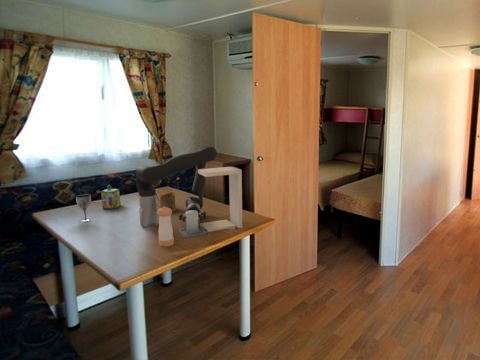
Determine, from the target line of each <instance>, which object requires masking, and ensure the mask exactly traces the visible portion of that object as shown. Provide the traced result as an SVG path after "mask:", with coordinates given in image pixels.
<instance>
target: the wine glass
mask: <svg viewBox="0 0 480 360" xmlns="http://www.w3.org/2000/svg"><path fill="white" fill-rule="evenodd" d="M75 201H76V204H77V207H78V208H79V209H80V210H82V211H83V214H84V218H83V219H81V220H82V221H89V220H90V219H91V218H87V211H88V209H89V207H90V206H91V203H92V195H91V194H88V193H86V194H85V193H84V194H79V195H76V196H75Z"/></svg>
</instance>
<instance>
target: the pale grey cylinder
mask: <svg viewBox="0 0 480 360" xmlns="http://www.w3.org/2000/svg"><path fill="white" fill-rule="evenodd" d="M185 213H186V220H185V222H186V223H185V224H186V228H187V234H197V233H198V232H199V230H198V226H199V219H198V211H196V210H189V211H187V210H186V211H185Z"/></svg>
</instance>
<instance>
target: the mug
mask: <svg viewBox="0 0 480 360" xmlns="http://www.w3.org/2000/svg"><path fill="white" fill-rule="evenodd" d="M175 195H176V194H175V192H174V191H172V192H168V193H164V194H161V195H159V197H158V193H157V192H156V199H159V205H158V204H157V208H158V209H160V208H162V207H164V206H165V207H167V208H170V209H171V210H172V212H175V211H176V210H177V209H178V208H177V207H176V198H175V197H176V196H175Z"/></svg>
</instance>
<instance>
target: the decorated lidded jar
mask: <svg viewBox="0 0 480 360" xmlns="http://www.w3.org/2000/svg"><path fill="white" fill-rule="evenodd" d="M100 194H101V204H102V205H101V206H102V209H103V208H104V209H117V208H119V206H122V205H121V195H120V188H112V186H111V185H110V184H108V185H107V186H106V189H105V188H104V190H101V191H100Z"/></svg>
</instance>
